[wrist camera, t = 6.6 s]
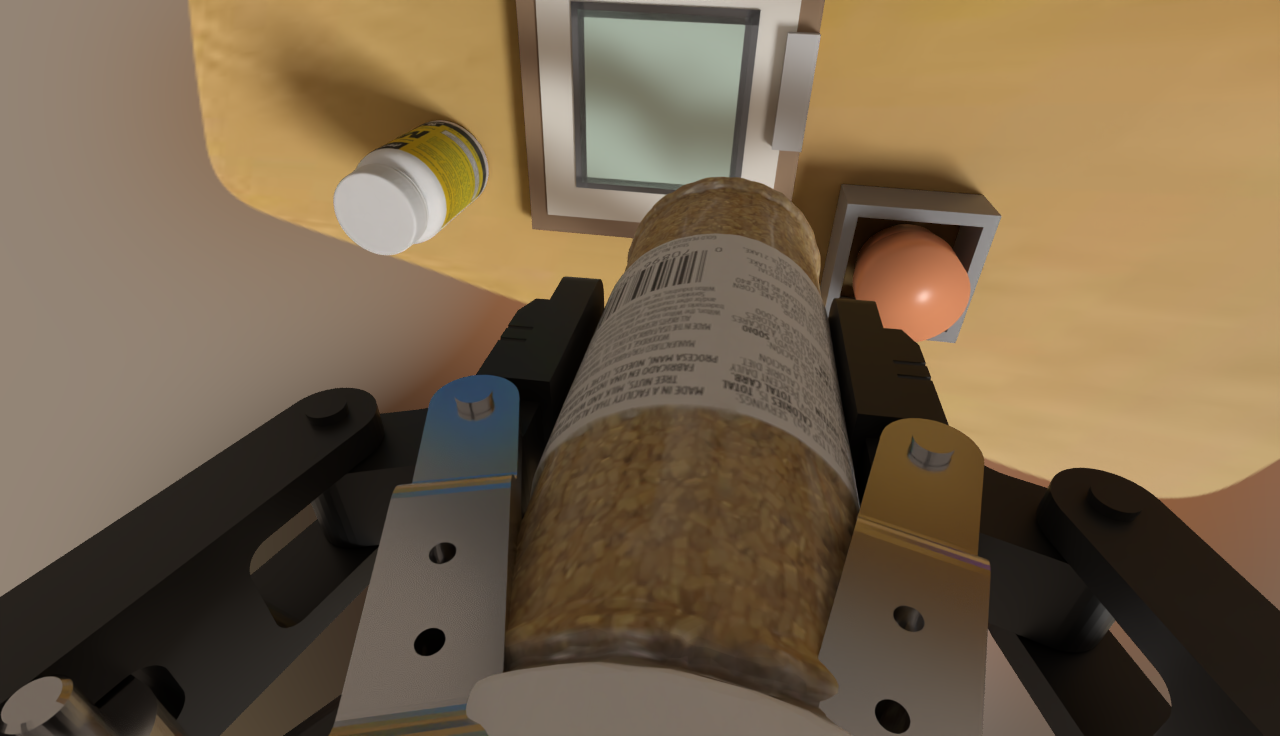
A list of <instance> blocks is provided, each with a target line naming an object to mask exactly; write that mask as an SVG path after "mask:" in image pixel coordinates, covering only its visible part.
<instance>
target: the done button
mask: <svg viewBox="0 0 1280 736" xmlns="http://www.w3.org/2000/svg"><path fill="white" fill-rule="evenodd" d="M853 290H854V294H855V298H856V300H867V301H875V302H876V304H877V308H878V311H879V315H880V318H881V321H882V325H883V328H891V329H902V330H903V331H904V332H905V333H906V334H907V335H908V336H909V337H911V338H912V339H913V340H914V341H915V342H919V341H923V340H927V339H930V338H932V337H935V336H937V335H939V334H941V333H942V332H944V331H946V330H947V329H948V328H950V327H951V326H952V325H953V324H954V323H955V322H956V321H957V320H958V319H959V318H960V317H961V315H962V314H963V312H964V311H965V309H966V307H967V304H968V301H969V298H970V291H971V289H970V280H969V277H968V274H967V272H966V270H965V269H964V267H963V265H962V264H961V262H960V261H959V259H958V257H957V256H956V254H955V252H954V251H953V249H952V248H951V246H950V245H949V244H948V243H947V242H946V241H944V240H943V239H942V238H940V237H938V236H936V235H934V234H933V233H932V232H931V231H929V230H928V229H926V228H923V227H921V226H917V225H911V224H902V225H895V226H891V227H888V228H885V229H883V230H881V231H879V232H878V233H876V234H875V235H873V236H872V237H871V238H870V239H869V240H867V241H866V243H865V244H864V245H863V246H862V248H861V250H860V251H859V253H858V256H857V259H856V264H855V270H854V274H853Z"/></svg>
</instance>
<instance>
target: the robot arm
mask: <svg viewBox="0 0 1280 736" xmlns="http://www.w3.org/2000/svg"><path fill="white" fill-rule="evenodd" d="M603 311H604V289H603V283H602V281H601V279H590V278H577V277H563V278H562V280H561V281H560V283H559V285H558V287H557V288H556V290H555V292H554V293H553V295H552V297H551V299H550V300H548V299H535V300H533V301H532V302H530V303H529V304H527V305H526V306H524V307H522V308H521V309H519V310H518V311H517V313H516V314H515V316H514V317H513V319H512V320H511V322H510V323H509V325H508V328H506V330H505V331H504V332H503V334H502V336H501V339H500V340H498V342H497V343H496V345H495V346H494V348H493V350H492V351H491V352H490V354H489V355H488V357H487V358H486V360H485V362H484V363H483V365H482V366H481V368H480V369H479V371H478V372H477V374H476V375H474V376H468V377H463V378H460V379H457V380H455V381H452V382H450V383H448V384H447V385H445V386H443V387H442V388H441V389H439V390H438V391H437V392H436V393H435V394H434V396H433V397H432V399H431V401H430V404H429V408H425V409H419V410H411V411H402V412H393V413H384V414H380V413H379V410H378V406H377V404H376V400H375V398H374V397H373V396H372V395H371V394H370V393H368V392H366V391H364V390H360V389H355V388H335V389H330V390H325V391H321V392H318V393H315V394H312V395H310V396H308V397H306V398H304V399H302V400H300V401H298V402H297V403H295V404H294V405H292V406H291V407H289V408H288V409H286V410H285V411H283V412H281V413H280V414H278V415H277V416H275V417H274V418H272V419H271V420H269V421H268V422H266V423H265V424H263V425H262V426H260V427H259V428H257V429H256V430H254V431H252V432H251V433H249V434H248V435H247V436H245V437H243V438H242V439H240V440H239V441H237V442H236V443H234V444H233V445H231V446H230V447H228V448H227V449H225V450H224V451H222V452H221V453H219V454H217V455H216V456H215V457H213V458H211V459H210V460H208V461H207V462H205V463H204V464H202V465H201V466H199V467H198V468H196V469H195V470H193V471H192V472H190V473H188V474H187V475H185V476H184V477H182V478H181V479H179V480H178V481H176V482H175V483H173V484H172V485H170V486H169V487H167V488H166V489H164V490H163V491H161V492H160V493H158V494H157V495H155V496H154V497H152V498H150V499H149V500H147V501H146V502H144V503H143V504H142V505H140V506H139V507H137V508H135V509H134V510H132V511H131V512H129V513H128V514H126V515H125V516H123V517H122V518H120V519H118V520H117V521H115V522H114V523H112V524H111V525H109V526H108V527H106V528H105V529H104V530H102V531H100V532H99V533H97V534H96V535H94V536H93V537H91V538H89V539H88V540H87V541H85V542H84V543H82V544H80V545H79V546H77V547H76V548H74V549H73V550H71V551H70V552H68V553H67V554H65V555H64V556H62V557H61V558H59V559H57V560H56V561H55V562H53V563H51V564H50V565H48V566H47V567H45V568H44V569H43V570H41V571H39V572H38V573H36V574H35V575H33V576H32V577H30V578H29V579H27V580H25V581H24V582H22V583H21V584H20V585H18V586H16V587H15V588H13V589H12V590H10V591H9V592H7V593H6V594H4V595H3V596H1V597H0V736H220V735H221V734H222V733H223V732H224V731H225V730H226V729H227V728H228V727H229V725H231V724H232V723H233V722H234V721H235V720H236V718H237V717H238V716H239V715H240V714H241V713H242V712H243V711H244V710H245V709H246V708H247V707H248V706H249V705H250V704H251V703H252V702H253V701H254V700H255V699H256V698H257V697H258V696H259V695H260V694H261V693H262V692H263V691H264V690H265V689H266V688H267V687H268V686H269V685H270V684H271V683H272V682H273V681H274V680H275V679H276V678H277V677H278V676H279V675H280V674H281V673H282V672H283V671H284V670H285V669H286V668H287V667H288V666H289V665H290V664H291V663H292V662H293V661H294V660H295V659H296V658H297V657H298V655H300V654H301V653H302V652H303V651H304V650H305V649H306V647H307V646H308V645H309V644H311V642H312V641H313V640H314V639H315V638H316V637H317V636H318V635H319V634H320V633H321V632H322V631H323V630H324V629H325V628H326V627H327V626H328V625H329V624H330V623H331V622H332V621H333V620H334V619H335V618H336V617H337V616H338V615H339V614H340V613H341V612H342V611H343V610H344V609H345V608H346V607H347V606H348V605H349V604H350V603H351V602H352V601H353V600H354V599H355V598H356V597H357V596H358V595H359V594H360V593H361V592H362V591H363V590H364V589H365V588H366V587H367V586H368V585H369V588H368V592H367V596H366V600H365V604H364V608H363V612H362V616H361V621H360V624H359V628H358V632H357V636H356V640H355V644H354V648H353V652H352V656H351V660H350V664H349V668H348V672H347V676H346V680H345V684H344V688H343V692H342V694H341V695H340V696H338V697H337V698H336V699H334V700H333V701H331V702H330V703H329V704H327V705H326V706H324V707H323V708H322V709H320V710H319V711H318V712H316V713H314V714H313V715H312V716H310V717H309V718H308V719H306V720H305V721H303V722H302V723H300V724H299V725H298V726H296V727H295V728H293V729H292V730H291V731H289V732H288V733H286V734H285V735H283V736H488V734H487V732H486V730H485V729H484V728H483V727H482V726H481V724H479V723H477V722H475V721H473V720H471V719H470V718H468V716H467V714H466V706H467V702H468V698H469V696H470V693H471V690H472V688H473V687H474V685H475V684H476V683H477V682H478V681H479V680H481V679H484V678H486V677H488V676H491V675H496V674H500V673H505V672H506V669H507V662H506V648H505V642H506V632H507V630H508V626H509V619H510V607H511V593H512V582H513V576H514V567H515V562H516V554H517V542H518V534H519V531H520V525H521V521H522V519H523V517H524V514H525V512H526V509H527V506H528V504H529V502H530V497H531V489H532V482H533V478H534V475H535V472H536V470H537V467H538V465H539V462H540V460H541V457H542V455H543V452H544V450H545V448H546V445H547V443H548V440H549V438H550V436H551V433H552V431H553V428H554V426H555V424H556V421H557V419H558V416H559V414H560V411H561V409H562V407H563V404H564V402H565V400H566V397H567V395H568V393H569V390H570V388H571V386H572V383H573V381H574V379H575V376H576V374H577V372H578V369H579V367H580V365H581V362H582V360H583V358H584V356H585V353H586V351H587V349H588V346H589V344H590V342H591V339H592V337H593V335H594V332H595V330H596V327H597V325H598V323H599V320H600V318H601V315H602V313H603ZM828 321H829V326H830V332H831V338H832V345H833V352H834V358H835V364H836V370H837V376H838V382H839V388H840V394H841V400H842V406H843V411H844V417H845V422H846V428H847V434H848V439H849V445H850V450H851V456H852V461H853V468H854V474H855V481H856V488H857V493H858V499H859V505H860V510H859V514H858V517H857V521H856V524H855V528H854V531H853V535H852V539H851V542H850V546H849V549H848V553H847V556H846V560H845V564H844V567H843V571H842V574H841V578H840V581H839V585H838V588H837V592H836V596H835V599H834V603H833V606H832V610H831V613H830V617H829V620H828V624H827V628H826V631H825V635H824V638H823V642H822V645H821V649H820V652H819V656H818V659H819V661H820V662H821V663H822V664H823V665H824V666H825V667H826V668H827V669H828V670H829V671H830V672H831V674H832V675H833V676H834V677H835V679H836V681H837V683H838V685H839V687H838V693H837V694H836V695H834V696H832V697H831V698H829V699H827V700H825V701H820V704H819V708H820V709H821V710H822V711H823V712H824V713H825V714H826V717H827V718H829V719H830V720H831V721H833V722H834V723H835V724H836V725H837V726H839V727H841V728H842V729H844V730H845V731H847V732H848V733H850V734H852V735H853V736H982V734H983V714H984V694H985V674H986V655H987V635H988V629H989V631H990V633H991V635H992V637H993V638H994V640H995V641H996V643H997V645H998V646H999V648H1000V649H1001V651H1002V652H1003V654H1004V656H1005V657H1006V659H1007V660H1008V662H1009V663H1010V665H1011V666H1012V668H1013V670H1014V671H1015V673H1016V674H1017V676H1018V678H1019V679H1020V681H1021V682H1022V684H1023V685H1024V687H1025V689H1026V690H1027V692H1028V693H1029V694H1030V696H1031V698H1032V700H1033V701H1034V703H1035V704H1036V706H1037V707H1038V709H1039V710H1040V712H1041V714H1042V715H1043V717H1044V718H1045V720H1046V721H1047V723H1048V725H1049V726H1050V728H1051V729H1052V731H1053V732H1054V734H1055V736H1280V611H1279V610H1278V609H1277V608H1276V607H1275V606H1274V605H1273V604H1271V602H1270V601H1268V600H1267V599H1266V598H1265V597H1264V596H1263V595H1262V594H1261V593H1260V592H1259V591H1258V590H1257V589H1255V588H1254V587H1253V586H1252V585H1251V584H1250V583H1249V582H1248V581H1247V580H1246V579H1245V578H1244V577H1242V576H1241V575H1240V574H1239V573H1238V572H1237V571H1236V570H1235V569H1234V568H1232V566H1231V565H1229V564H1228V563H1227V562H1226V561H1225V560H1224V559H1223V558H1222V557H1221V556H1220V555H1219V554H1217V553H1216V552H1215V551H1214V550H1213V549H1212V548H1211V547H1210V546H1209V545H1208V544H1207V543H1206V542H1204V541H1203V540H1202V539H1201V538H1200V537H1199V536H1198V535H1197V534H1196V533H1195V532H1193V531H1192V530H1191V529H1190V528H1189V527H1188V526H1187V525H1186V524H1185V523H1184V522H1183V521H1182V520H1181V519H1180V518H1178V517H1177V516H1176V515H1175V514H1174V513H1173V512H1172V511H1171V510H1170V509H1169V508H1167V507H1166V506H1165V505H1164V504H1163V503H1162V502H1161V501H1160V500H1159V499H1158V498H1156V497H1155V496H1154V495H1153V494H1151V493H1150V492H1149V491H1147V490H1146V489H1144V488H1143V487H1141V486H1139V485H1137V484H1136V483H1134V482H1132V481H1130V480H1127V479H1125V478H1123V477H1121V476H1118V475H1115V474H1112V473H1109V472H1105V471H1102V470H1096V469H1090V468H1072V469H1066V470H1064V471H1061V472H1059V473H1058V474H1056V475H1055V476H1054V478H1053V479H1052V481H1051V483H1050V485H1049V486H1048V488H1045V487H1042V486H1039V485H1036V484H1033V483H1030V482H1026V481H1023V480H1020V479H1017V478H1014V477H1010V476H1008V475H1005V474H1002V473H999V472H997V471H995V470H992V469H990V468H988V467H986V466H985V465H984V457H983V455H982V452H981V451H980V449H979V447H978V446H977V445H976V444H975V443H974V441H972V440H971V439H970V438H969V437H968V436H966V435H965V434H963V433H962V432H960V431H959V430H957V429H955V428H953V427H951V426H949V425H948V422H947V419H946V417H945V414H944V411H943V409H942V406H941V403H940V400H939V398H938V395H937V392H936V390H935V387H934V384H933V381H931V376H930V373H929V371H928V368H927V366H925V360H924V357H923V354H922V352H921V349H920V346H919V345H918V344H917V343H916V342H915V341H914V340H913V339H912V338H911V337H909V336H908V335H907V334H906V333H905V332H904V331H903V330H902V329H891V328H883V325H882V321H881V318H880V315H879V311H878V308H877V304H876V302H875V301H867V300H854V299H841V298H834V299H833V301H832V304H831V307H830V311H829V316H828ZM310 503H311V504H312V507H313V509H314V512H315V514H316V516H317V520H316V521H315V522H313V523H312V524H311V525H310V526H309V527H307V528H306V529H305V530H304V531H303V532H302V533H300V534H299V535H298V536H297V537H296V538H294V539H293V540H292V541H291V542H290V543H288V545H286V546H285V547H284V548H282V549H281V550H280V551H279V552H278V553H277V554H275V555H274V556H273V557H272V558H271V559H269V560H268V561H267V562H266V563H265V564H264V565H262V566H261V567H260V568H259V569H258V570H256V571H255V572H254V573H253V574H252V575H250V572H249V569H250V562H251V559H252V557H253V555H254V553H255V551H256V550H257V548H258V547H259V546H260V545H261V543H262V542H263V541H265V540H266V539H267V538H268V537H269V536H270V535H272V534H273V533H274V532H275V531H277V530H278V529H279V528H280V527H282V526H283V525H284V524H285V523H286V522H288V521H289V520H290V519H291V518H293V517H294V516H295V515H296V514H298V513H299V512H300V511H301V510H303V509H304V508H305V507H306V506H307V505H309V504H310ZM1115 620H1116V621H1117V623H1118V624H1119V625H1120V626H1121V627H1122V629H1123V630H1124V631H1125V632H1126V633H1127V635H1128V636H1129V637H1130V638H1131V639H1132V641H1133V642H1134V643H1135V644H1136V646H1137V647H1138V648H1139V649H1140V650H1141V651H1142V653H1143V654H1144V655H1145V656H1146V657H1147V659H1148V660H1149V661H1150V662H1151V663H1152V665H1153V666H1154V667H1155V668H1156V670H1157V671H1158V672H1159V674H1160V675H1161V677H1162V678H1163V680H1164V682H1165V683H1166V686H1167V688H1168V691H1169V694H1170V697H1171V703H1172V707H1171V706H1170V705H1169V703H1168V702H1167V701H1166V700H1165V699H1164V697H1163V696H1162V695H1161V694H1160V692H1159V691H1158V690H1157V689H1156V687H1155V686H1154V685H1153V684H1152V683H1151V681H1150V680H1149V679H1148V678H1147V676H1146V675H1145V674H1144V673H1143V671H1142V670H1141V669H1140V668H1139V666H1138V665H1137V664H1136V663H1135V662H1134V660H1133V659H1132V658H1131V657H1130V655H1129V654H1128V653H1127V652H1126V650H1125V649H1124V648H1123V647H1122V646H1121V644H1120V643H1119V642H1118V641H1117V639H1116V638H1115V637H1114V636H1113V634H1112V633H1111V632H1110V631H1109V628H1110V627H1111V626H1112V624H1113V623H1114V622H1115Z"/></svg>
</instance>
